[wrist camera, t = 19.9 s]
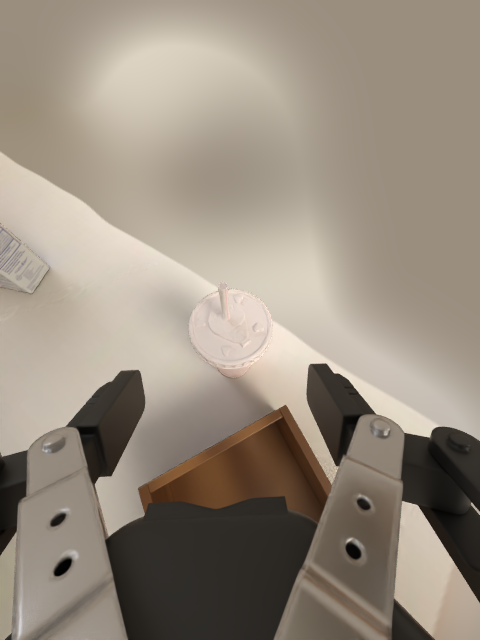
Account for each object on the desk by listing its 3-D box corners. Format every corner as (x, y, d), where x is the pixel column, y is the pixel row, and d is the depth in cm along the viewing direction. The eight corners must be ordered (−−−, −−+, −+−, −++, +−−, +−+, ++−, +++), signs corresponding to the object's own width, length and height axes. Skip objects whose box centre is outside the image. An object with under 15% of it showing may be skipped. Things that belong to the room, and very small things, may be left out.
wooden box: (216, 661, 17) (208, 746, 13) (159, 477, 22) (137, 488, 17) (355, 555, 20) (392, 592, 15) (276, 411, 25) (286, 404, 20)
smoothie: (238, 324, 29) (238, 235, 16) (274, 366, 27) (306, 301, 14) (192, 355, 27) (153, 283, 15) (226, 404, 25) (214, 368, 12)
